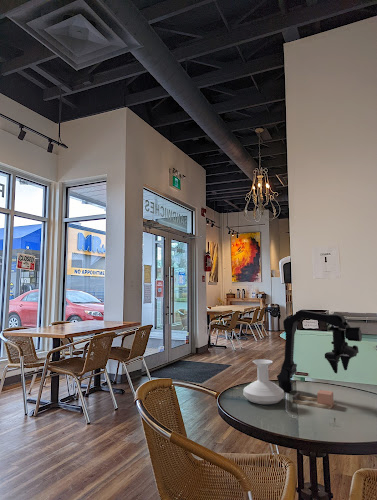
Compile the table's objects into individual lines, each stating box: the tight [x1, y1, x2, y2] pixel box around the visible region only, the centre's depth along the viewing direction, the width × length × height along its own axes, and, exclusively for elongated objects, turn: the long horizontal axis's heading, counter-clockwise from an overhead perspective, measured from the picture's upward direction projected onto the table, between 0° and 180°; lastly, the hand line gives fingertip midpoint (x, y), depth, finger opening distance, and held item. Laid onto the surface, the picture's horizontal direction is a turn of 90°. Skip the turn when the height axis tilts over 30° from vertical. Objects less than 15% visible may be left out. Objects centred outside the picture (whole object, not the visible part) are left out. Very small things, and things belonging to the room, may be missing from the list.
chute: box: [291, 391, 332, 410], centre depth 177 cm, size 18×9×3 cm, turn 57°
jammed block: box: [316, 389, 335, 409], centre depth 174 cm, size 6×6×6 cm
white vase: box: [242, 358, 285, 405], centre depth 182 cm, size 20×20×19 cm
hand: (340, 371), depth 181 cm, fingers open, 9 cm apart
